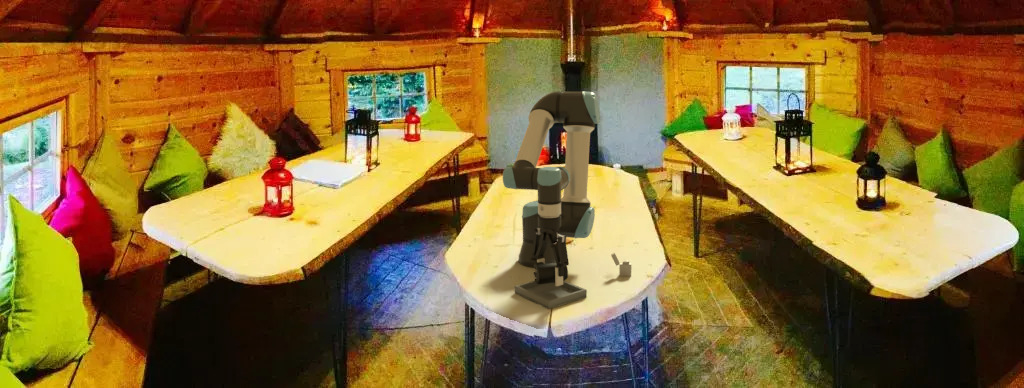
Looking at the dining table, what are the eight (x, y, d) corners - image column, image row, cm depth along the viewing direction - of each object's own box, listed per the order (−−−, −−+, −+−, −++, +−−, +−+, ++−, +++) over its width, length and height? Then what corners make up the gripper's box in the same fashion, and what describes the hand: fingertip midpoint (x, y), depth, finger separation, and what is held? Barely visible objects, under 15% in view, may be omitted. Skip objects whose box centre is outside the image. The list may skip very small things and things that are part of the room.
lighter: (631, 274, 254) (631, 253, 252) (631, 276, 252) (631, 254, 251) (611, 273, 255) (611, 252, 253) (611, 275, 253) (611, 254, 251)
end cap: (539, 287, 230) (538, 267, 229) (532, 280, 237) (532, 261, 235) (568, 284, 233) (568, 264, 231) (560, 277, 239) (560, 258, 238)
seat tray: (514, 293, 238) (514, 285, 238) (551, 282, 248) (551, 275, 247) (549, 309, 224) (548, 301, 224) (586, 297, 234) (586, 289, 233)
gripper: (520, 210, 236) (521, 275, 241) (562, 223, 219) (562, 292, 224) (537, 207, 240) (538, 270, 245) (580, 219, 223) (580, 287, 228)
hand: (550, 281), depth 235 cm, fingers closed on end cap, 9 cm apart
